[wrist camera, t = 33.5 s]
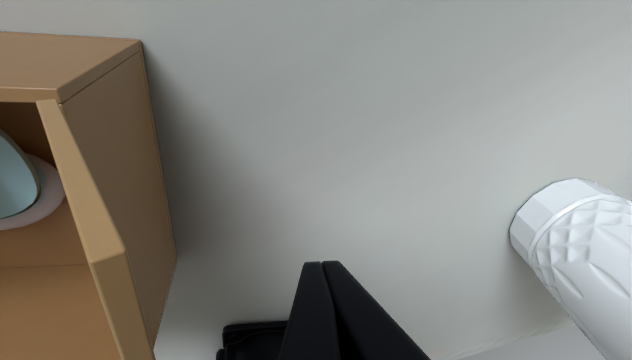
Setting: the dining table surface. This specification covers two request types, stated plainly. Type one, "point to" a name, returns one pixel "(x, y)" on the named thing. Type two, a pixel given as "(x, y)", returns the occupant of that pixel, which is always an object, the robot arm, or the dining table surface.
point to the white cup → (583, 258)
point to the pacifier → (25, 186)
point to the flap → (98, 238)
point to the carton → (59, 227)
